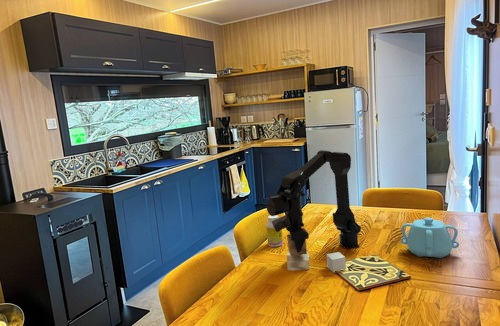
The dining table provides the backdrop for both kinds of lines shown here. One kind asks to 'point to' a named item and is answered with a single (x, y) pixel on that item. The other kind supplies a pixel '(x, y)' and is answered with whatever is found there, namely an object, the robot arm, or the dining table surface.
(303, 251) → the walnut cube
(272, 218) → the supplement bottle
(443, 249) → the decorative pot
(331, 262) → the grey cube
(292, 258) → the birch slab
